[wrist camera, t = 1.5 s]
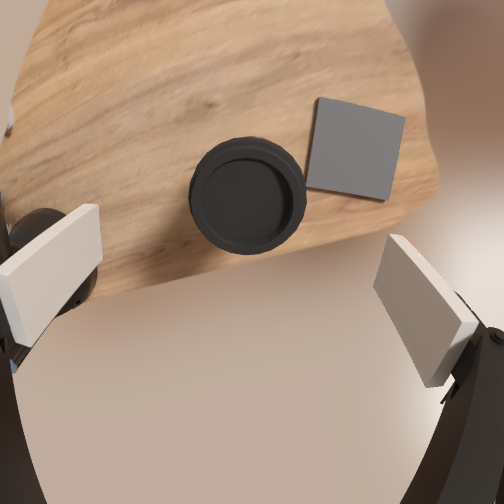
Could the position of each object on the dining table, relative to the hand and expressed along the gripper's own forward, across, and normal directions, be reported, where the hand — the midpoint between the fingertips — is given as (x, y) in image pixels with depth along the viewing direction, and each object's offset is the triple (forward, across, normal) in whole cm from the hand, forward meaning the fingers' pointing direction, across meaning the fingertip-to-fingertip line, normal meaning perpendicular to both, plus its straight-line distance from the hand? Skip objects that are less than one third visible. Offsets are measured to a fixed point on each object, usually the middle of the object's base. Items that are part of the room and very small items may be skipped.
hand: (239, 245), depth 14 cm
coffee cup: (+23, 0, 0) cm, 23 cm away
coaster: (+22, +11, +3) cm, 25 cm away
